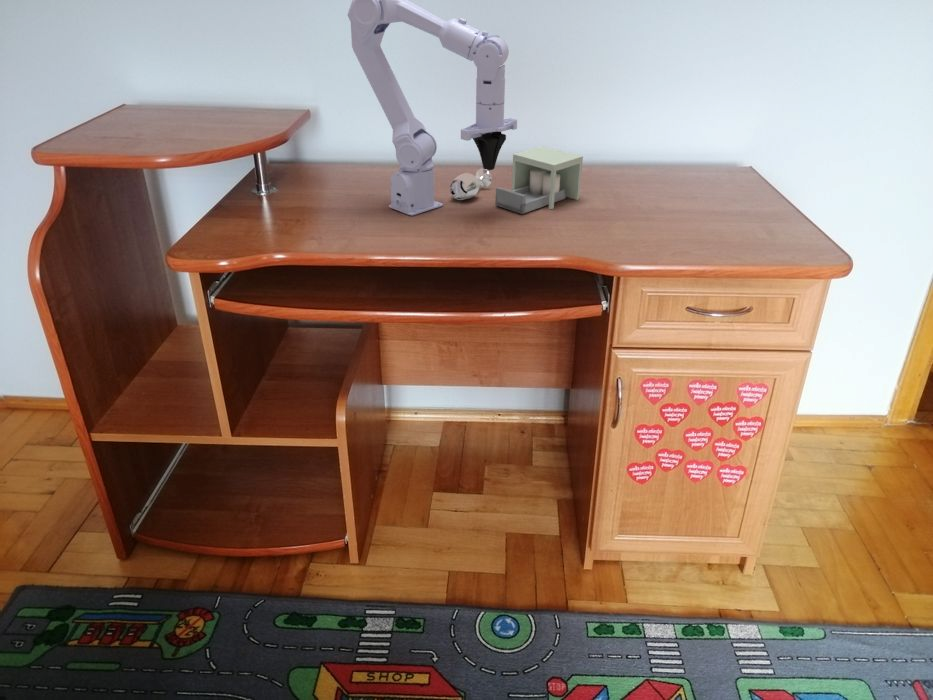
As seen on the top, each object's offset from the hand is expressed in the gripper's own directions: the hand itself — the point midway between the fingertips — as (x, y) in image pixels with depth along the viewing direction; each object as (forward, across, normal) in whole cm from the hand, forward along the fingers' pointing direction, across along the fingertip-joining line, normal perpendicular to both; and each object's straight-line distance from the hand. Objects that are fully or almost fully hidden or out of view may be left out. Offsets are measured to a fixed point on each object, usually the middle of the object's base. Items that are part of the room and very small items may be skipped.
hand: (488, 168), depth 149 cm
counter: (+10, +17, -2) cm, 20 cm away
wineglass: (+7, +12, +13) cm, 19 cm away
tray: (+10, +12, -2) cm, 16 cm away
